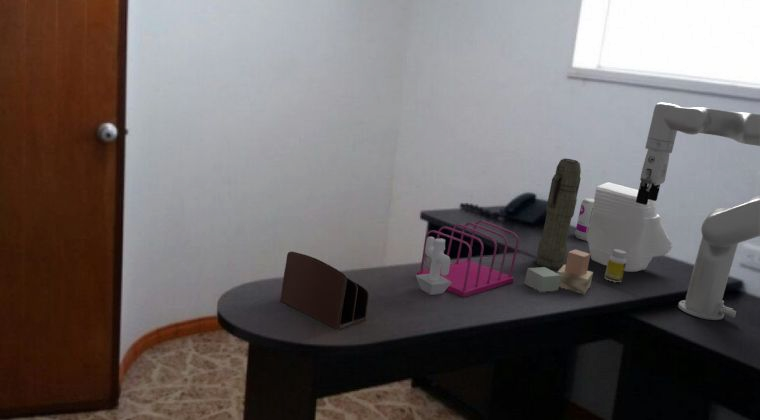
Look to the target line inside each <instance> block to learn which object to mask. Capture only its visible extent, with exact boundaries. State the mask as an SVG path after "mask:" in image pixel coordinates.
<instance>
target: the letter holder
mask: <svg viewBox="0 0 760 420" xmlns="http://www.w3.org/2000/svg"><path fill="white" fill-rule="evenodd" d="M284 266H285V267H284V271H283V272H284V273H283V280H282V287H281V293H280V300H279V301H280V302H281V303H283V304H286V305H287V306H289V307H291V308H294V309H296V310H297V311H299V312H301V313H304V314H305V315H308V316H309V317H311V318H313V319H315V320H317V321H319V322H321V323H323V324H325V325H327V326H328V327H331V328H333V329H335V330H337V329H339V330H341V329H340V328H342V329H344V328H343V327H345V328H347V326H349V327H351V326H354V325H357V324H356V323H358V324H360V322H361V323H363V321H364V322H366V320H367V312H368V304H369V297H370V296H369V291H368V290H367V289H366V288H365V287H363V286H362V285H360V284H359V283H357V282H355V281H353V280H352V279H350V278H349V277H348V276H346V275H345V273H343V272H341V271H340V270H338V269H337V268H335V267H333V266H331V265H330V264H328V263H327V262H326V263H325V262H324V261H321V260H319V259H317V258H315V257H312V256H309V255H307V254H303V253H301V252H297V251H289V252H287V255H286V260H285V265H284ZM353 324H354V325H353ZM350 325H351V326H350Z"/></svg>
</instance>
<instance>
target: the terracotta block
mask: <svg viewBox="0 0 760 420" xmlns="http://www.w3.org/2000/svg"><path fill="white" fill-rule="evenodd" d="M590 259H591V254H590V252H589V253H588V252H585V251H582V250H578V249H576V248H575V249H573V250H572V249H571V250H570V251H568V253H567V257H566V263H565V265H566V267H565V271H567V272H570V273H573V274H576V275H579V276H581V275H583V274H585V273H587V271H588V269H589V263H590Z"/></svg>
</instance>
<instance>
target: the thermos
mask: <svg viewBox="0 0 760 420" xmlns="http://www.w3.org/2000/svg"><path fill="white" fill-rule="evenodd" d="M581 173H582V171H581V163H580V162H579V161H578V160H575V159H570V158H561V159H560V160H559V162H558V163H557V165H556V170H555V174H554V175H553V177H552V178H551V183H550V189H549V192H548V196H547V197H548V199H547V201H546V203H547V204H546V209H545V210H546V216H545V219H544V221H545V222H544V226H543V229H542V230H543V231H542V235H541V239H540V240H539V242H538V246H537V250H536V251H537V252H536V259H535V263H536V264H537V265H538V266H541V267H546V268H548V269H553V270H554V269H555V270H557V269H558V270H560V268H561V267H562V266H563V265H564V264H563V263H564V261H565V258H566V253H567V249H568V248H567V240H568V236H569V231H570V226H571V222H572V221H571V220H572V218H573V217H574V214H575V209H576V205H577V200H578V199H577V198H578V193H579V187H580V184H581Z"/></svg>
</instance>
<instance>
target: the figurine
mask: <svg viewBox="0 0 760 420" xmlns="http://www.w3.org/2000/svg"><path fill="white" fill-rule="evenodd" d="M445 250H446V239H445V238H441V237H440V238H439V239H437V238H435V237H434V236H428V238H427V241H426V248H425V256H426V257H427V258H430V259H431V262H430V268H429V269H430V273H429V274H422V275H416V274H415V278H416V280H417V283H418V286H419V288H420V290H421V291H423V292H425V293H427V294H428V295H430V296H431V295H432V296H433V295H441V294H444V293H445V291H447V290H446V289H447V288H448V287H449V286H450V284H451V283H452V282H451V281H449V280H447V279H445V278H444V277H442V276H440V270H441V275H444V276H446V275H448V273H449V268H450V264H451V258H450V255H449V256H447V254H445V253H444V252H445Z"/></svg>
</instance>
